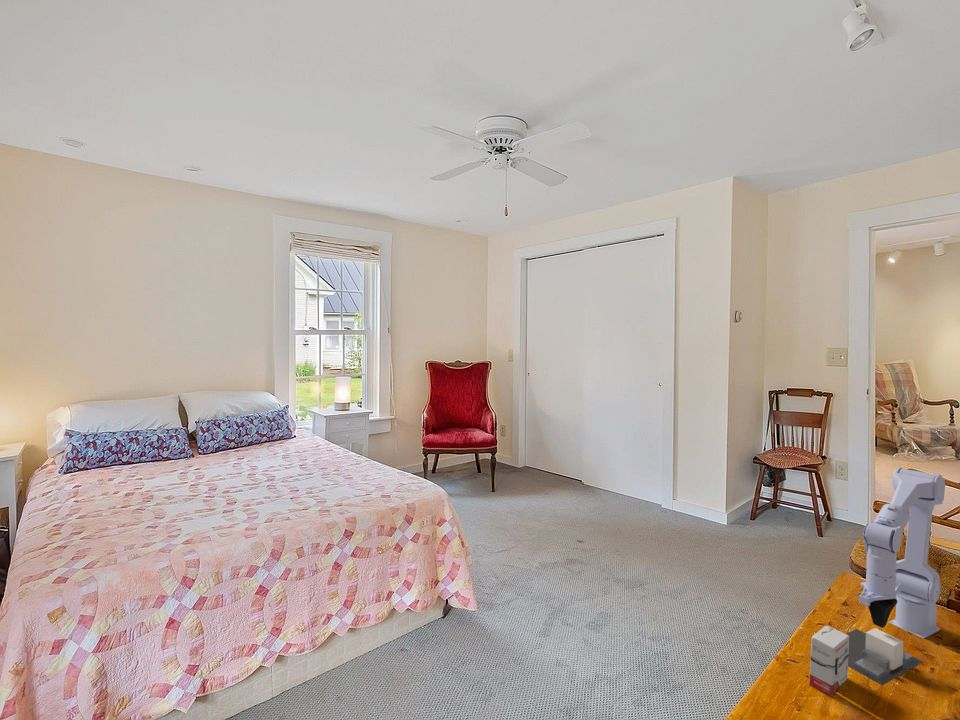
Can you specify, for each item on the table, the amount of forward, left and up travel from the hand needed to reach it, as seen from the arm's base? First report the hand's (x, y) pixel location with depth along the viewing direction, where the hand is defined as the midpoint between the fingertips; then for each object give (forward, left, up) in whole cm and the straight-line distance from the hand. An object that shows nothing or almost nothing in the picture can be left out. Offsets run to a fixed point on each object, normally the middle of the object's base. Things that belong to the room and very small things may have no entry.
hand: (879, 625), depth 125 cm
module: (+1, +2, -8) cm, 8 cm away
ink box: (+19, -1, -10) cm, 21 cm away
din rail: (+1, -2, -9) cm, 10 cm away
